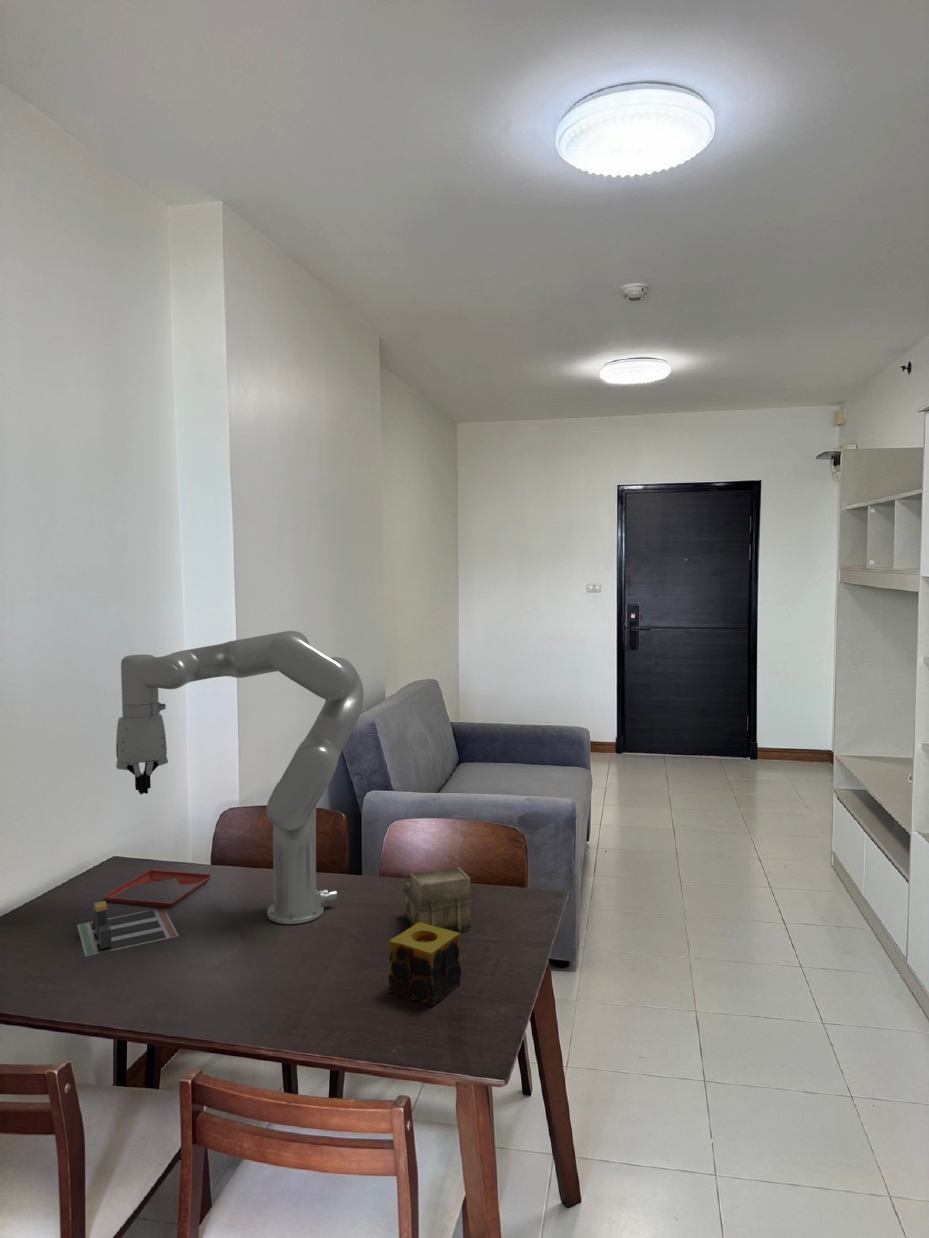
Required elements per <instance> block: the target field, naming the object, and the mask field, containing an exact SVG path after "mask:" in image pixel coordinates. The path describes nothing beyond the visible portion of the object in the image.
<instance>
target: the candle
mask: <svg viewBox="0 0 929 1238" xmlns="http://www.w3.org/2000/svg"><path fill="white" fill-rule="evenodd" d="M460 940H461V935H460V933H458V932H454V931H451V930H447V929H443V928H439V927H435V926H432V925H428V924H424V923H420V922H419V923H416V924H415V925H413V926H412V925H411V926H410V927H409V928H407V929H405V930H404V931H403V932H401V933H400V934H398V935H396V936H395V937H393V938H391V939H389V941H388V944H389V946H388V947H389V959H388V960H389V972H388V973H389V975H388V985H389V986H388V991H389V993H390V992H391V994H393V995H395V994H396V996H399V995H400V996H399V997H401V996H403V997H402V998H404V997H405V999H407V998H408V999H407V1000H410V999H414V1000H419V1001H421V1002H420V1003H422V1002H423V1003H422V1004H424V1003H425V1004H424V1005H426V1004H428V1005H430V1006H429V1007H434V1006H435V1005H436V1004H435V1003H437V1002H438V1001H439V1002H441V1001H440V999H442V998H443V997H444V996H446V995H447V996H448V995H449V994H448V992H450V991H451V989H453V987H455V986H456V985H459V986H460V984H461V977H462V969H461V967H462V963H461V950H460V947H461V943H460V942H461V941H460ZM459 983H460V984H459ZM453 990H454V989H453ZM451 992H452V991H451ZM451 992H450V993H451ZM447 996H446V997H447ZM444 998H445V997H444ZM444 998H443V999H444ZM443 999H442V1000H443ZM414 1000H413V1001H414ZM419 1001H418V1002H419ZM439 1002H438V1003H439ZM438 1003H437V1004H438ZM434 1004H435V1005H434ZM428 1005H427V1006H428ZM433 1005H434V1006H433Z"/></svg>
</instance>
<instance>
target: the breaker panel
mask: <svg viewBox="0 0 929 1238" xmlns="http://www.w3.org/2000/svg"><path fill="white" fill-rule="evenodd" d="M108 924H109V925H110V928H111V946H112V947H107V948H103V949H101V948H100V944H99V937H97V935H96V928H95V927H94V924H93V921H89V922H85V923H84V922H83V923H79V924H77V926H76V927H77V930H78V934H79V937H80V942H81V946H82V950H83V953H84V957H90V956H93V955H98V954H104V953H109V952H114V951H117V950H122V949H127V948H130V947H131V948H132V947H135V946H139V945H140V946H141V945H144V944H149V943H153V942H159V941H163V940H169V939H172V938H176V937H179V936H180V935H179V934H178V931H177V929H176V928H175V926H174V924H173V921H172V920H171V918H170V916H169V914H168V913H167V910H166V909H165V907H160V908H154V909H150V910H146V911H145V910H144V911H140V912H134V913H130V914H126V915H125V914H124V915H119V916H115V917H108V918H107V925H108Z"/></svg>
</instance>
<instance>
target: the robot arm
mask: <svg viewBox="0 0 929 1238" xmlns="http://www.w3.org/2000/svg"><path fill="white" fill-rule="evenodd" d="M275 672H279V673H280V674H282V675H284V676H285V677H286V678H288V679H290V680H291V681H293V682H294V683H296V684H298V685H299V686H301V687H303V688H304V689H305V690H307V691H309V692H311V693H312V694H314V695H316V696H317V697H319V698H321V699H324V700H325V701H324V704H323V706H322V708H321V709H320V712H319V713H318V716H317V717H316V720H315V721H314V723H313V725H312V727H311V728H310V729H309V731H308V733H307V735H306V736H305V738H304V739H303V741H302V742H301V743H300V744H299V746H297V749H296V750H295V752H294V754H293V757H292V758H291V759H290V761H289V763H288V766H287V767H286V769H285V771H284V773H283V775H282V776H281V777H280V780H279V781H278V782H277V783H276V785H275V786H274V788H273V790H272V793H271V794H270V797H269V798H268V800H267V801H268V802H267V804H266V805H267V806H266V814H267V817H268V820H269V822H270V823H271V824H272V826H273V827H272V835H273V836H272V856H273V861H272V862H273V904H271V905H270V906H269V907H268V908H267V912H266V913H267V914H266V915H267V918H268V919H269V920H270V921H272V922H273V923H278V924H281V925H296V924H298V925H299V924H305V923H308V922H311V921H314V920H316V919H318V918H319V917H321V916H322V915H323V913H324V910H325V909H324V907H325V906H324V903H325V902H326V901H333V900H337V898H338V893H337V891H336V890H330V891H328V888H325V889H321V890H318V889H317V851H316V850H317V805H318V804H319V802H320V800H321V798H322V797H323V795H324V793H325V791H326V789H327V788H328V786H329V784H330V783H331V780H332V779H333V776H334V774H335V772H336V769H337V766H338V761H339V758H340V756H341V753H342V752H343V750H344V747H346V744H347V742H348V740H349V738H350V736H351V734H352V733H353V731H354V728H355V727H356V725H357V723H358V721H359V718H360V716H361V713H362V710H363V707H364V697H365V695H364V694H365V693H364V686H363V682H362V679H361V676H360V675H359V673H358V671H357V669H356V668H355V667H354V665H353V664H352V663H351V662H350V661H349V660H347V659H346V658H343V657H339V656H334V657H329V656H328V655H327V654H325V653H323V652H321V651H319V650H318V649H317V648H315V647H314V646H312V645H311V644H310V642H309V640H308V638H307V637H306V636H305V635H304V634H303V633H302V632H300V631H296V630H287V631H281V632H275V633H274V632H273V633H269V634H264V635H258V636H252V637H248V638H241V639H240V638H239V639H236V640H235V639H234V640H230V641H229V640H228V641H227V642H223V643H220V644H219V643H218V644H215V645H207V646H201V647H197V648H196V647H195V648H191V649H189V648H188V649H184V650H180V651H174V652H173V653H170V654H166V655H163V656H154V655H152V654H131V655H130V654H129V655H127V656H124V657H122V659H121V663H120V676H121V677H120V679H121V681H120V684H121V711H122V716H121V717H118V720H117V726H116V740H115V742H116V743H115V746H116V747H115V754H116V759H117V760H116V765H115V766H116V769H117V770H123V771H129V772H130V773H131V774H132V775H134V785H135V786H134V787H135V788H134V789H135V791H138V794H139V795H144V794H147V795H148V794H149V789H151V775H153V772H154V771H155V770H156V769H157V768H158V767H160V766H163V765H166V764H168V762H169V760H168V757H167V756H168V755H167V753H168V748H167V747H168V746H167V738H166V729H165V722H164V719H163V715H162V714H160V712H161V711H163V710H166V706H167V705H166V703H160V701H159V689H163V690H177V689H179V688H181V687H183V686H185V685H187V684H189V683H193V682H197V681H198V682H199V681H203V680H209V679H212V678H213V679H214V678H220V677H221V678H222V677H231V678H236V679H241V678H248V677H249V678H250V677H253V676H259V675H264V674H265V675H266V674H270V673H275ZM140 763H142V764H143V763H144V769H143V771H142V772H143V773H142V772H141V769H140Z"/></svg>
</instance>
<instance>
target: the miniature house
mask: <svg viewBox="0 0 929 1238" xmlns="http://www.w3.org/2000/svg"><path fill="white" fill-rule="evenodd" d="M409 876H410V877H409V878H410V880H409V881H408V882H405V886H404V889H402V891H403V893H404V894H405V914H404V917H405V919H406V918H407V919H408V920H409V921H408V920H407V919H406V920H407V921H408V923H409V922H410V923H409V924H410V925H411V924H412V925H411V927H412V926H413V925H415V924H416V923H419V922H420V923H424V924H428V925H432V926H435V927H439V928H443V929H447V930H451V931H457V932H458V933H460V934H461V933H462V934H463V931H462V930H463V929H468V928H471V929H472V924H471V904H474V901H473V900H472V898H471V897H472V896H471V877H470V876H468V874H467V873H465V871H463V870H462V868H460V867H459V866H458V867H456V868H454V869H453V868H452V869H445V870H440V871H433V872H431V871H430V872H425V873H419V874H415V873H410V875H409Z"/></svg>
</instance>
